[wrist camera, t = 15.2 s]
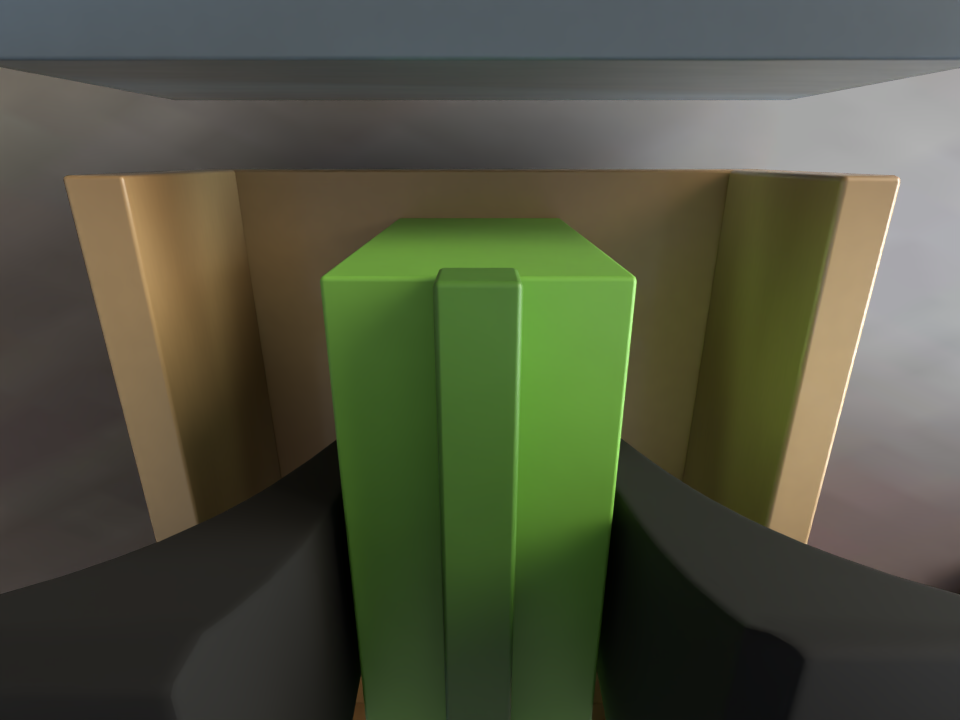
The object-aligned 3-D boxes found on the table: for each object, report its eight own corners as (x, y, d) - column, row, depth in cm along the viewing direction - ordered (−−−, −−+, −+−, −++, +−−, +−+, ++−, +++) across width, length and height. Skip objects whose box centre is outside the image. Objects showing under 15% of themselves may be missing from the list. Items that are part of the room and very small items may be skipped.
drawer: (102, -300, 9) (-291, -774, 4) (862, -300, 9) (1260, -776, 4) (279, 687, 17) (204, 882, 12) (683, 687, 17) (758, 884, 12)
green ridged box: (561, 212, 11) (662, 281, 5) (542, 584, 14) (587, 902, 8) (397, 212, 11) (293, 281, 5) (417, 584, 14) (370, 902, 8)
